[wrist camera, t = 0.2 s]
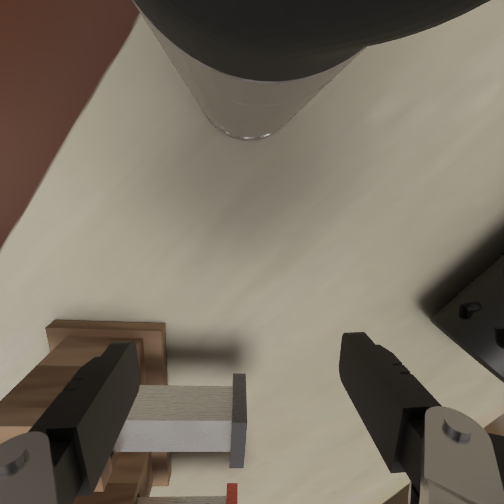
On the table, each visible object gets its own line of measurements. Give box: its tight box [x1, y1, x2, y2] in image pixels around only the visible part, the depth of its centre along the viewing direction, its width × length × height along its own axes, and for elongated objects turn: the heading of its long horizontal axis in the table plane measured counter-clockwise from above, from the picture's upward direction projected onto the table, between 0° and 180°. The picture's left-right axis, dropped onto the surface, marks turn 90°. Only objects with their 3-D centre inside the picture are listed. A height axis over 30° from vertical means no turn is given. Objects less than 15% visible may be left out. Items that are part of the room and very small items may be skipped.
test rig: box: [0, 320, 171, 504], centre depth 28 cm, size 25×12×12 cm, turn 176°
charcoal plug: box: [112, 374, 247, 468], centre depth 24 cm, size 5×15×5 cm, turn 86°
